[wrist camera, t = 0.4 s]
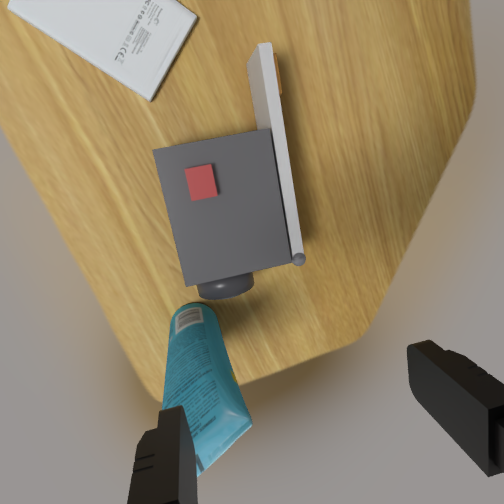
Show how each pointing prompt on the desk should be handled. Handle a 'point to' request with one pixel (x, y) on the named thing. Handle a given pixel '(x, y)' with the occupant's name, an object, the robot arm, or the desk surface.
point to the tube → (203, 383)
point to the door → (275, 136)
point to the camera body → (224, 210)
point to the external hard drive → (115, 35)
